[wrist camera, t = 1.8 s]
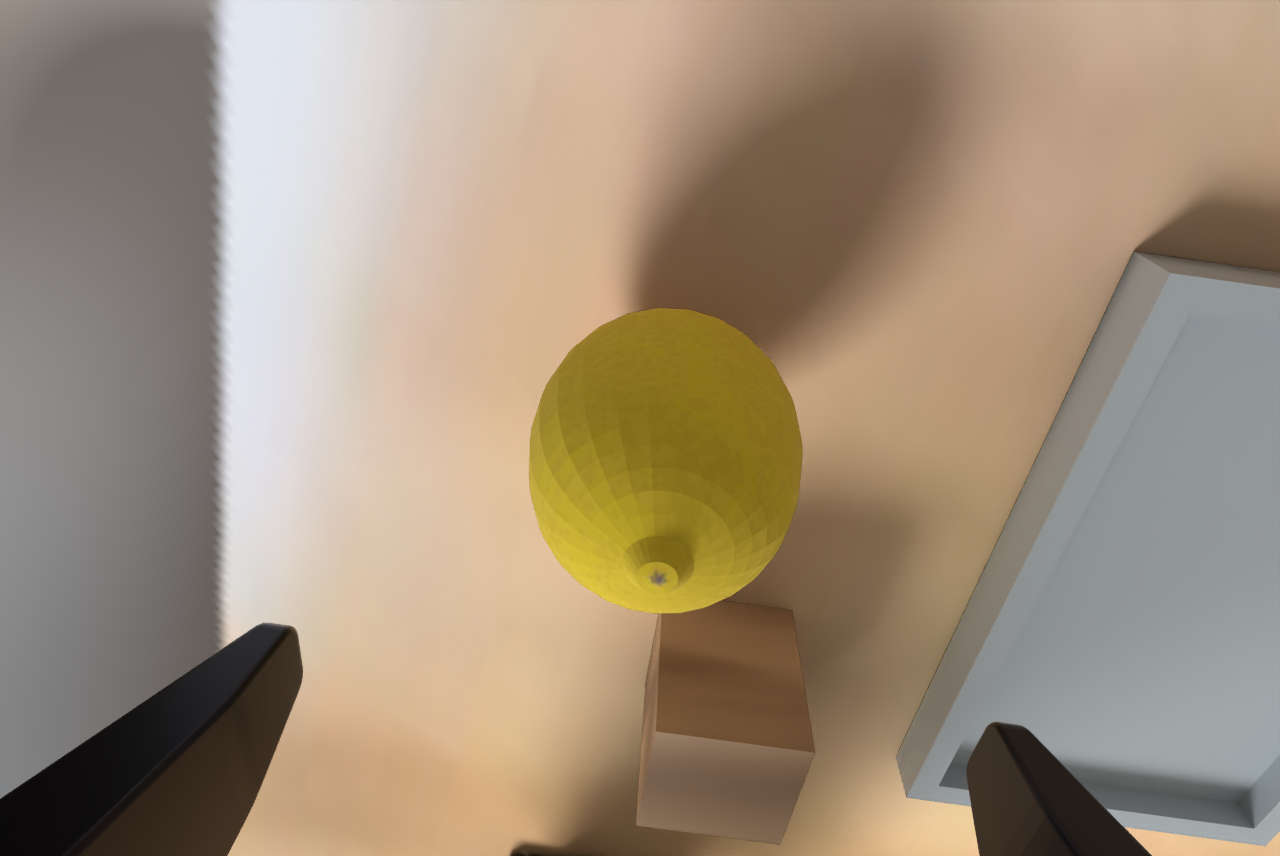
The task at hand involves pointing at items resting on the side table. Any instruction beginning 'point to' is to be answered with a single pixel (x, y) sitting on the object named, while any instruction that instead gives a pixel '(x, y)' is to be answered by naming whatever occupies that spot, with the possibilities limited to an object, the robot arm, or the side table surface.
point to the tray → (1140, 572)
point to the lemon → (665, 461)
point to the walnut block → (724, 723)
